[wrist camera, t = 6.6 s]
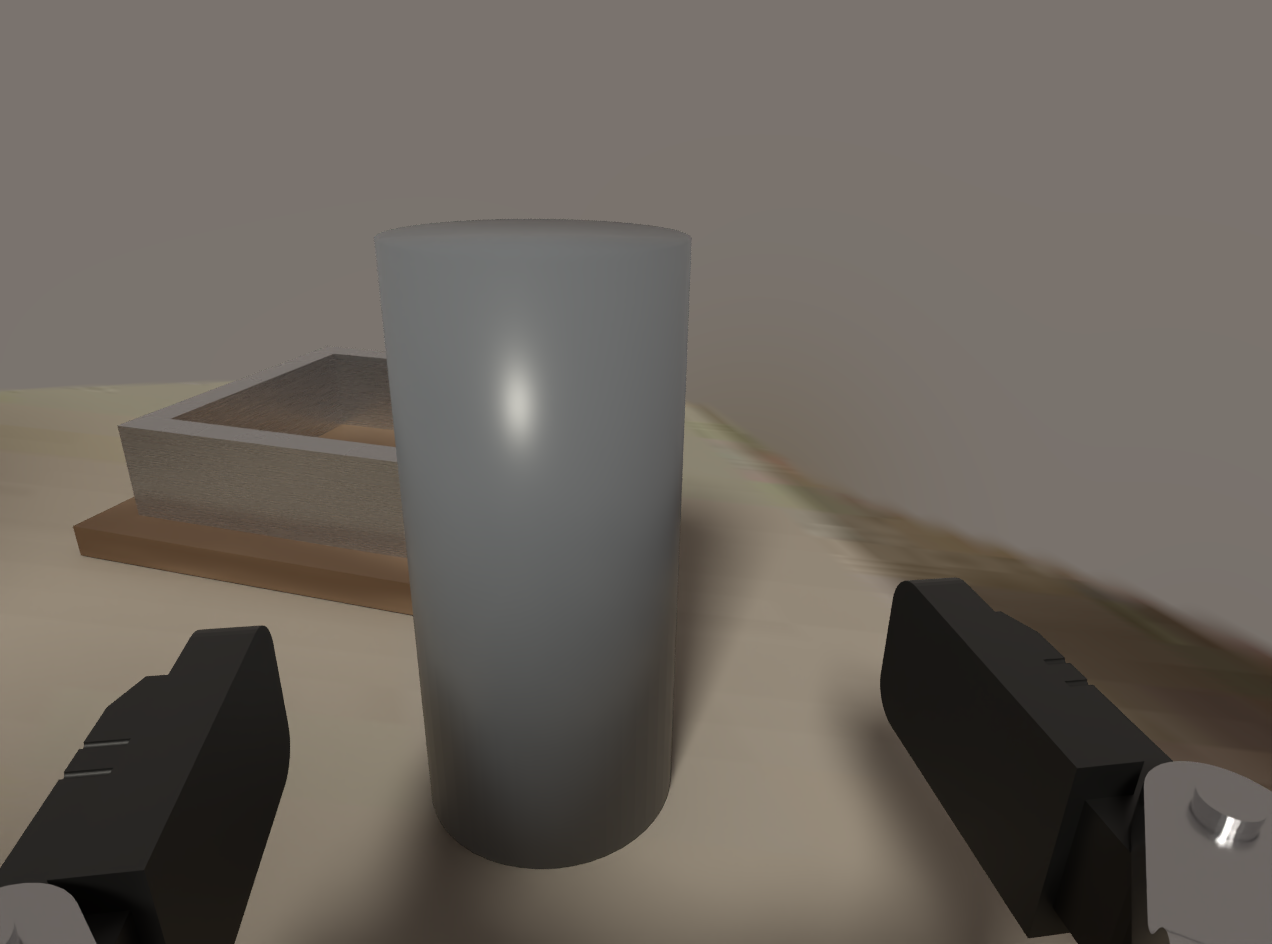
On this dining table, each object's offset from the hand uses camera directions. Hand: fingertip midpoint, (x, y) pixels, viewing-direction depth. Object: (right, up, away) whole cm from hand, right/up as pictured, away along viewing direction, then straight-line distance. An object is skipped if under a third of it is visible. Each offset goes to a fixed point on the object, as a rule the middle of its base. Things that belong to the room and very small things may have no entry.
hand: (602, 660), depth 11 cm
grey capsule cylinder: (-1, -4, +7) cm, 8 cm away
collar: (-9, +1, +19) cm, 21 cm away
